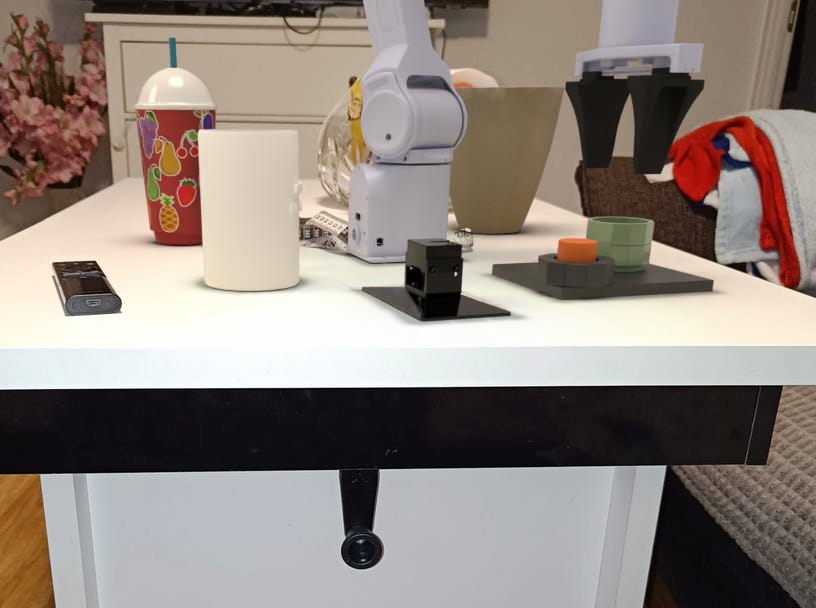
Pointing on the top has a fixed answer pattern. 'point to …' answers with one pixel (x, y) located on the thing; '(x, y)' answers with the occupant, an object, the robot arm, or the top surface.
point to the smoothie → (173, 150)
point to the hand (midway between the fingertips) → (620, 171)
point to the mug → (250, 208)
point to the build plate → (434, 285)
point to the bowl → (622, 240)
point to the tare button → (577, 250)
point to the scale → (597, 279)
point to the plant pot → (502, 155)
